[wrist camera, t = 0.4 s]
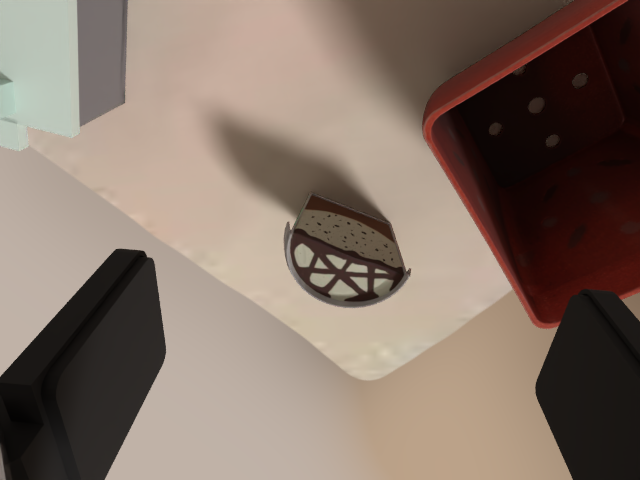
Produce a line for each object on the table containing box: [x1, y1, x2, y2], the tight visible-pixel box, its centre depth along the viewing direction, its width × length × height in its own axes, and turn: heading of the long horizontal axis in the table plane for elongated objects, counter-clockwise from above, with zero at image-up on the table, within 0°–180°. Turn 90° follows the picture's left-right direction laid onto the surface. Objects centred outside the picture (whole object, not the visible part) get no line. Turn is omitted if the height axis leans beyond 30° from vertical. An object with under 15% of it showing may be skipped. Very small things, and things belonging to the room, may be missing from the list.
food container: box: [284, 192, 411, 308], centre depth 46 cm, size 12×6×10 cm, turn 68°
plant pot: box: [422, 0, 640, 329], centre depth 35 cm, size 19×19×17 cm
